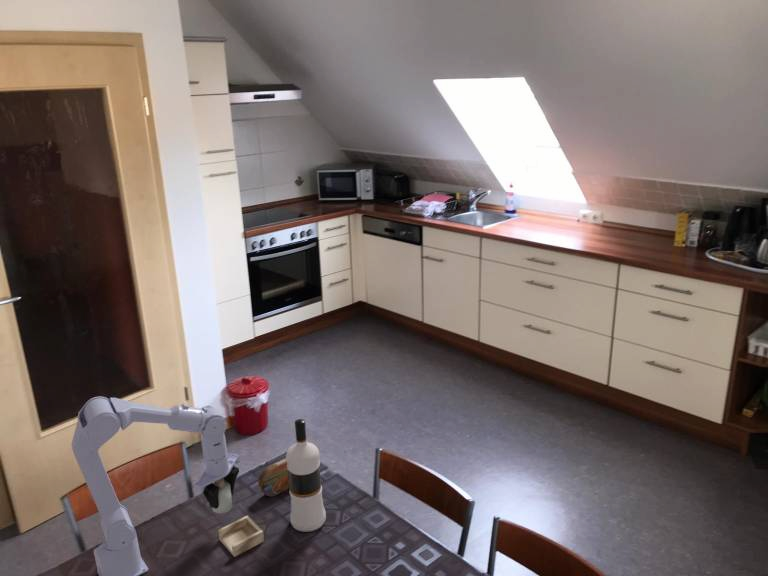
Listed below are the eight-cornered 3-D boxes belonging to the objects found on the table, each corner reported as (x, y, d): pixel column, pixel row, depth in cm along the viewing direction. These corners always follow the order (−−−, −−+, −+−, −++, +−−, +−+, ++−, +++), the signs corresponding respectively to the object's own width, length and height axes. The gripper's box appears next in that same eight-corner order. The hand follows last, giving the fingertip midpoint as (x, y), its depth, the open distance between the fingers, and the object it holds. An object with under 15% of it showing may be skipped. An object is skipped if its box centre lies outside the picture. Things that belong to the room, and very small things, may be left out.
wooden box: (234, 557, 151) (233, 547, 150) (219, 539, 157) (218, 529, 156) (264, 541, 156) (263, 531, 155) (248, 524, 162) (247, 515, 161)
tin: (263, 501, 171) (260, 475, 168) (258, 496, 173) (255, 470, 170) (309, 479, 180) (307, 454, 177) (303, 474, 182) (301, 449, 179)
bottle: (223, 515, 155) (219, 488, 152) (208, 510, 157) (204, 483, 155) (236, 503, 159) (233, 477, 157) (221, 498, 161) (217, 472, 159)
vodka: (283, 522, 162) (273, 422, 152) (310, 505, 168) (302, 407, 159) (306, 539, 156) (297, 435, 146) (333, 520, 162) (326, 419, 153)
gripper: (222, 436, 161) (228, 480, 165) (182, 466, 149) (189, 513, 153) (243, 442, 158) (249, 487, 162) (204, 473, 146) (211, 521, 150)
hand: (221, 500), depth 157 cm, fingers closed on bottle, 5 cm apart
